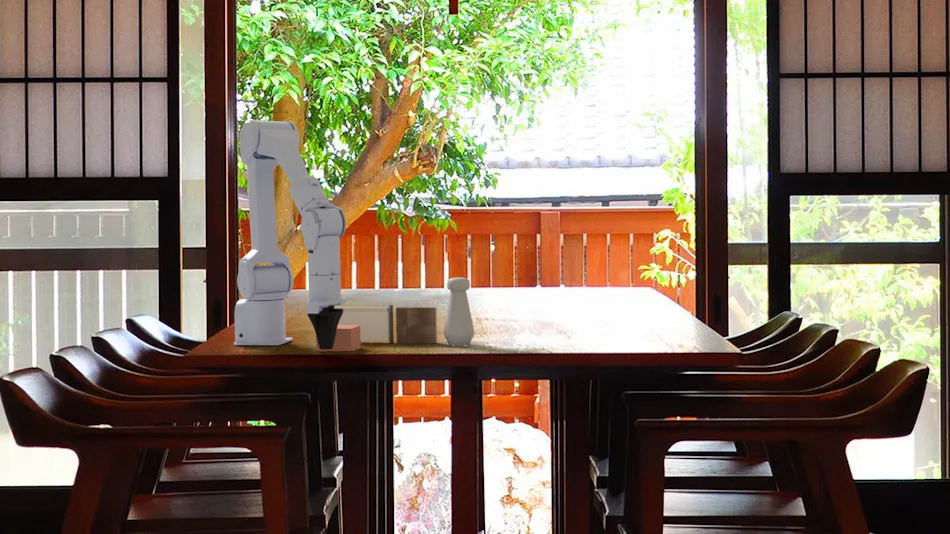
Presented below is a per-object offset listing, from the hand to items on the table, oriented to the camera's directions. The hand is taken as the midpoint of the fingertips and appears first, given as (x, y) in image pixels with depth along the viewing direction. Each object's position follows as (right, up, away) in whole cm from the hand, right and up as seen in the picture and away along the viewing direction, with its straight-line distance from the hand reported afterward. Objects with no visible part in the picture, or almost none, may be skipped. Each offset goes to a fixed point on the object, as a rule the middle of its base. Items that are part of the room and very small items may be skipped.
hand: (326, 348), depth 170 cm
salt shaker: (+24, 0, +11) cm, 26 cm away
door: (+5, 0, +16) cm, 16 cm away
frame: (+8, 0, +15) cm, 17 cm away
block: (+1, -1, +7) cm, 7 cm away
